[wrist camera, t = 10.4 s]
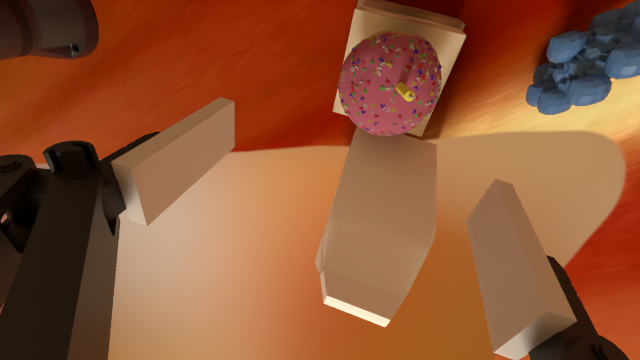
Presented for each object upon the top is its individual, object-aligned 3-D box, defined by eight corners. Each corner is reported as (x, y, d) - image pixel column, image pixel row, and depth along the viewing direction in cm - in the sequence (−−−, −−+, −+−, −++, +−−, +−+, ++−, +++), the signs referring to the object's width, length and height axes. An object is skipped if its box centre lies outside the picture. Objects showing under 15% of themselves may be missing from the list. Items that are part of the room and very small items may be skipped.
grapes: (583, -30, 28) (669, -37, 18) (639, 6, 28) (752, 18, 19) (490, 76, 35) (517, 111, 26) (535, 104, 35) (579, 149, 26)
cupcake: (418, 8, 25) (426, 1, 15) (449, 98, 27) (475, 145, 17) (332, 57, 28) (291, 79, 18) (367, 132, 31) (349, 187, 21)
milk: (436, 145, 42) (454, 303, 21) (406, 202, 49) (398, 362, 28) (358, 120, 43) (303, 247, 22) (339, 179, 50) (285, 317, 29)
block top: (342, 97, 36) (332, 111, 32) (363, 5, 30) (354, 8, 26) (421, 119, 34) (421, 136, 31) (459, 28, 28) (466, 35, 25)
